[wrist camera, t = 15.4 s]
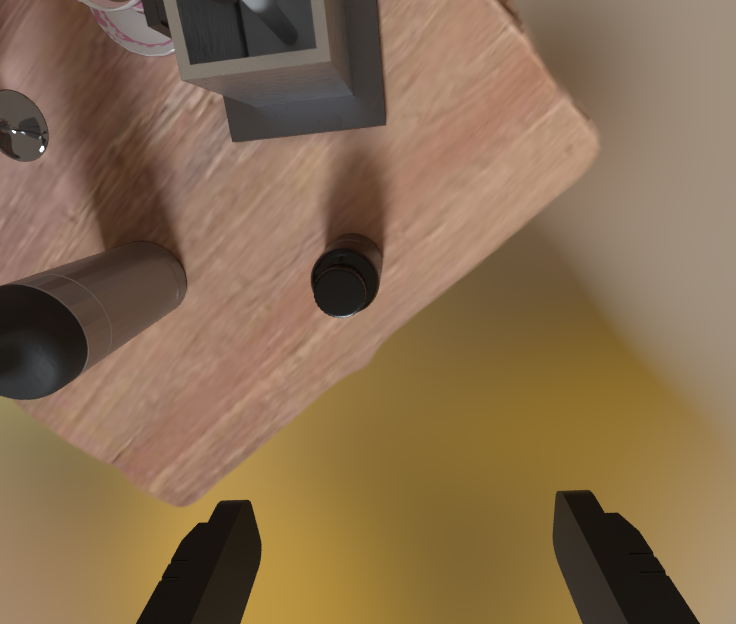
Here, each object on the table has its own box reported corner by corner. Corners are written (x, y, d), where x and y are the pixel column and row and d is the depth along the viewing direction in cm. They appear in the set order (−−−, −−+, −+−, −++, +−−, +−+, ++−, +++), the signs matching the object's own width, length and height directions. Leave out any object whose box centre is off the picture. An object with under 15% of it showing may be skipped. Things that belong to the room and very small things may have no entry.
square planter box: (236, 142, 44) (151, 134, 28) (200, -43, 38) (69, -178, 23) (385, 125, 42) (381, 107, 27) (370, -70, 37) (354, -233, 21)
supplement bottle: (356, 219, 46) (344, 239, 35) (394, 265, 47) (394, 299, 36) (311, 257, 48) (286, 288, 36) (349, 300, 49) (336, 342, 38)
